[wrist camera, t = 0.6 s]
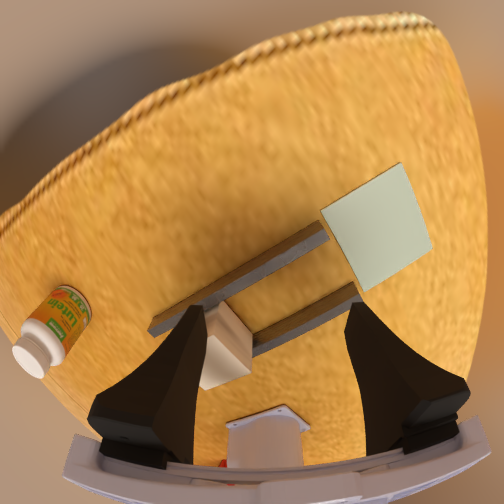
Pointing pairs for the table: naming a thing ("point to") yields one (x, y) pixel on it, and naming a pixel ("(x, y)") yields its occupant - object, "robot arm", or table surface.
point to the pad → (379, 227)
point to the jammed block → (225, 347)
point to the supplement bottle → (51, 331)
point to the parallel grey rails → (257, 271)
